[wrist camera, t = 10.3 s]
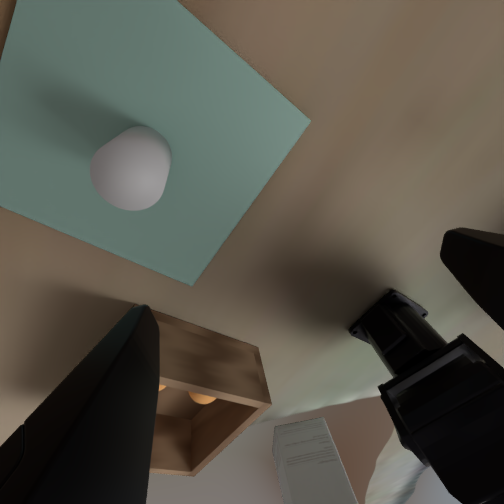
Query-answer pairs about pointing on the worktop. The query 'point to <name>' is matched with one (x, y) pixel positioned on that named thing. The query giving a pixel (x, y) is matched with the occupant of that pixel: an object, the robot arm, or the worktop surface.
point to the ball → (201, 398)
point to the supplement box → (310, 465)
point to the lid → (135, 129)
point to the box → (206, 383)
